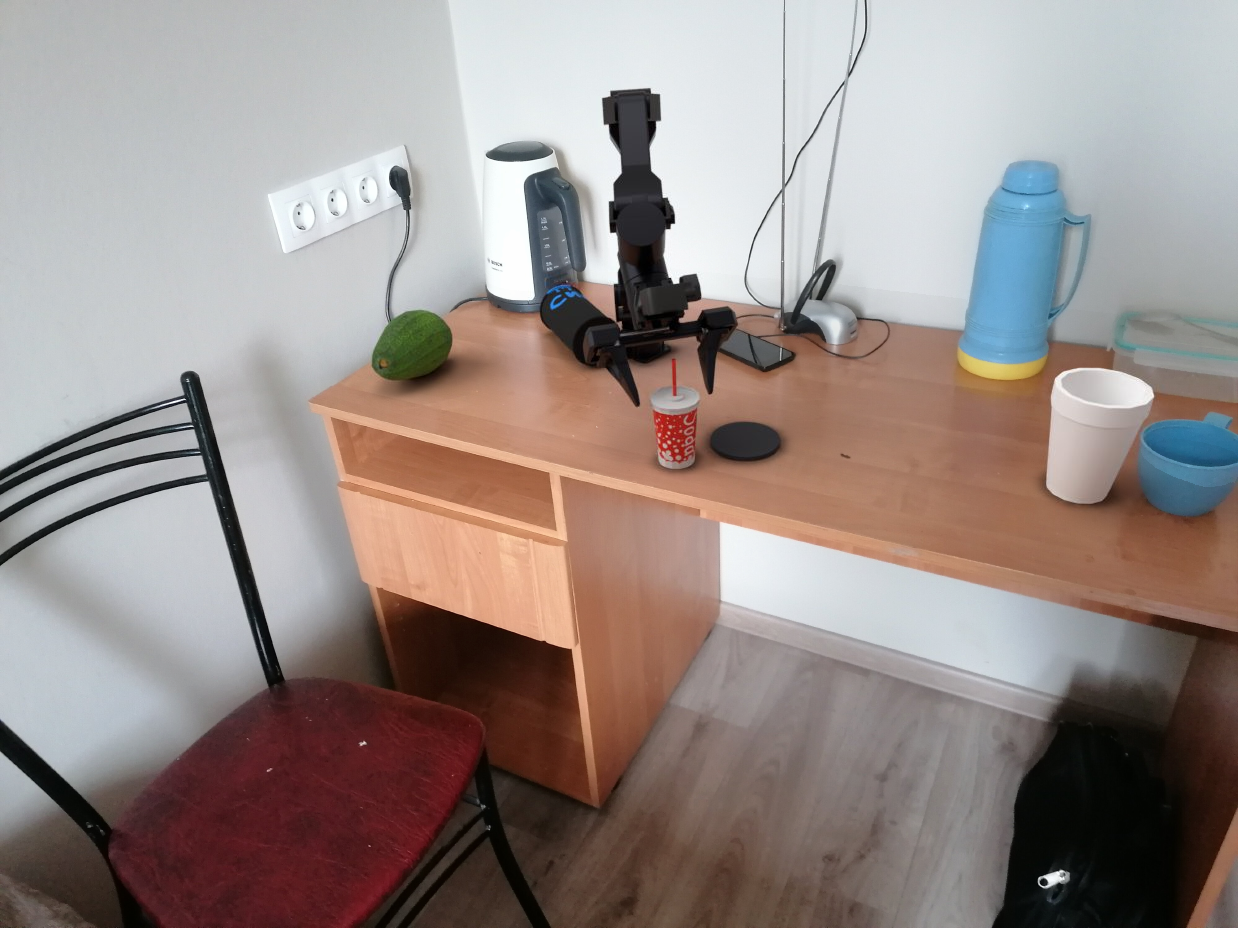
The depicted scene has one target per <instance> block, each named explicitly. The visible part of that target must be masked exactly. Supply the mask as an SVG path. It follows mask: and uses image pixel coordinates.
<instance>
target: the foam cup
mask: <svg viewBox="0 0 1238 928" xmlns="http://www.w3.org/2000/svg"><path fill="white" fill-rule="evenodd" d="M1154 399H1155V393H1154V390H1153V387H1152V386H1150V385H1149V384H1147V383H1146V382H1145V381H1143V380H1142V379H1141V378H1138V377H1136V376H1133V375H1131V374H1128V373H1125V372H1123V371H1119V370H1113V369H1108V368H1102V367H1077V368H1073V369H1068V370H1063V371H1062V372H1061V373H1060V374H1058V375H1057V376H1056V377H1055V378H1054V381H1053V386H1052V390H1051V394H1050V405H1051V413H1050V424H1049V425H1050V426H1049V437H1048V438H1049V439H1048V440H1049V441H1048V450H1047V452H1048V453H1047V465H1046V476H1045V477H1046V480H1045V483H1046V488H1047V490H1049V492H1050V493H1051V494H1052V495H1053V496H1055V497H1057V498H1059V499H1061V500H1063V501H1066V502H1070V503H1075V504H1078V505H1079V504H1081V505H1082V504H1084V505H1091V504H1095V503H1096V504H1097V503H1101V502H1103V500H1104V499H1106V497H1107V496H1108V494H1109V492H1110V490H1111V489H1112V486H1113V484H1114V482H1115V481H1116V478H1117V477H1118V474H1119V472H1120V470H1121V468H1122V466H1123V464H1124V462H1125V460H1126V458H1127V456H1128V454H1129V452H1130V450H1131V448H1132V446H1133V444H1134V442H1135V439H1136V438H1137V435H1138V434H1139V431H1140V429H1141V427H1142V425H1143V423H1144V422H1145V420H1147V418H1148V417H1149V415H1150V412H1151V408H1152V405H1153V403H1154Z"/></svg>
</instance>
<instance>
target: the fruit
mask: <svg viewBox="0 0 1238 928" xmlns="http://www.w3.org/2000/svg"><path fill="white" fill-rule="evenodd" d="M452 346H453V333H452V329H451V328H450V326H449V325H448V323H447V322H446V321H445V320H444V319H443V318H442V317H441V316H439V315H438V314H436V313H435V312H432V311H430V310H424V309H414V310H406V311H404V312H402V313H401V314H398V315H397V316H396V317H394V318H393V319H391V320H390V321H389V322H388V324H387V325H385V327H384V329H383V331H382V333H381V335H380V336H379V338H378V339H377V342H376V344H375V346H374V348H373V351H372V353H371V368H372V369H373V371H374V372H375V374H377V375H379V376H380V377H381V378H382V379H385V380H388V381H403V380H408V379H412V378H419V377H422V376H427V375H429V374H431V373H432V372H433V371H435V370H436V369H437V368H439V367H440V366H441V365H442V364H443V363H444V362H445V361H446V360H447V359H448V357H449V355H450V352H451V350H452Z"/></svg>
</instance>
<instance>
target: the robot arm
mask: <svg viewBox="0 0 1238 928" xmlns="http://www.w3.org/2000/svg"><path fill="white" fill-rule="evenodd" d="M609 93H610V94H609V96H606V97H602V98H601V106H602V119H603V121H602V122H603V126H608V133H609V134H608V135H609V140H610V141H611V143H612V145H613V146H614V147H615V149H616V150H617V152H618V153H619V155H620V169H621V173H620V174H619V176H618V177H617V178H616V179H615V181H613V184H612V186H613V187H612V188H613V190H612V191H613V200H608V226H609V233H610V234H616V239H617V250H618V251H617V253H616V257H617V261H618V265H619V268H618V270H617V283H613V299H614V313H615V322H616V323H617V324H618V323H620V322H621V328H620V327H618V326H619V325H617V324H616V323H614V324H607V325H601V326H594V327H589V328H588V330H587V331H586V333H585V338H584V342H583V352H584V356H585V361H586V363H588V364H593V363H597V366H596V367H597V368H598V369H605V370H606V371H607V372H608V373H609V374H610V375H611V376H612V377H613V378H614V379H615V380H616V382H617V383H618V384H619V385H620V386H621V388H622V389H623V390H624V393H625V394H626V395H627V396H628V398H629V400H630V401H631V402H632V403H633V405H634V406H635V408H640V406H641V400H640V394H639V390H638V387H637V384H636V382H635V378H634V375H633V372H632V370H631V369H632V368H631V366H630V363H629V360H628V358H629V359H632V360H635V361H638V362H640V363H643V364H645V363H649V362H650V361H652V360H654V359H656V358H658V357H660V356H662V355H665V354H667V353H669V352H670V351H672V349H673V347H672V346H671V345H668V344H666V343H665V342H668V341H674V340H682V339H688V338H693V337H694V338H695V339H696V342H698V343H699V345H698V347H697V348H696V351H697V356H698V361H699V366H700V370H701V375H702V378H703V379H702V380H703V384H704V387H705V390H706V392H707V395H709V396H710V395H712V394H713V393H714V388H715V387H714V386H715V373H716V364H717V357H718V356H717V355H718V350H720V349H721V347H722V346H723V345H724V343H725V342H727V341H729V340H730V338H731V336H732V335H733V333H734V332H735V330H736V329H737V327H738V325H739V322H738V319H737V315H736V312H735V311H734V310H733V309H732V308H731V307H730V306H728V305H726V306H719V307H712V308H706V309H702V310H700V311H701V312H700V313H699V315H698V317H697V318H696V320H690V321H684V322H681V321H680V319H683V318H684V317H685V315H686V313H685V312H686V311H688V310H689V303H694V302H699V301H701V300H702V297H703V296H702V287H701V284H700V283H701V282H700V280H699V276H698V274H697V273H691V274H684V275H682V276H680V277H678V283H674V281H673V279H672V277H670V275H669V272H668V268H667V263H666V260H665V256H664V255H665V251H666V235H667V234H666V231H667V230H671V229H672V228H671V227H672V225H675V224H676V213H675V209H674V206H673V205H672V204H671V203H670V200H669V197H668V196H667V197H664V196H663V195H664V193H663V184H662V180H661V178H660V177H658V175H657V174H655V172H654V171H652V160H651V146H652V144H653V142H654V140H655V138H656V134H657V123H658V122H662V109H661V108H662V105H661V94H660V93H652V88H651V87H645V88H643V87H642V88H629V89H616V90H610V91H609ZM619 328H620V331H621V332H620V331H619Z"/></svg>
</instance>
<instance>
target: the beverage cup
mask: <svg viewBox="0 0 1238 928" xmlns="http://www.w3.org/2000/svg"><path fill="white" fill-rule="evenodd" d="M671 374H672V375H671V381H672V382H671V383H672V385H668V386H667V385H666V386H662V387H660V388H658V389H655V390H654V391H653V392H652V393H651V394H650V395H649V402H650V403H649V405H650V407H651V408H652V413H653V414H652V415H653V423H654V432H655V440H656V449H657V458H658V462H659V465H661V466H663V467H664V468H667V469H671V470H682V469H687V468H688V467H690V466H692V465H693V464H694V463H695V461H696V460H695V459H696V458H695V457H696V440H697V418H698V407H699V406H700V401H701V395H700V393H699V392H698V390H697V389H695V388H692V387H690V386H684V385H677V360H676V358H671Z"/></svg>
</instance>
